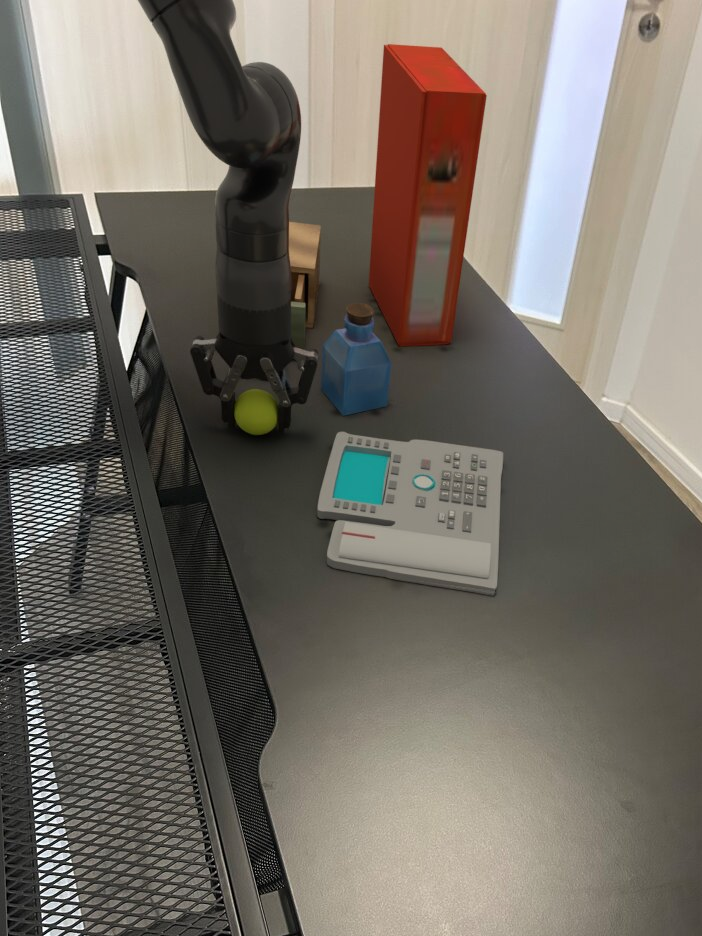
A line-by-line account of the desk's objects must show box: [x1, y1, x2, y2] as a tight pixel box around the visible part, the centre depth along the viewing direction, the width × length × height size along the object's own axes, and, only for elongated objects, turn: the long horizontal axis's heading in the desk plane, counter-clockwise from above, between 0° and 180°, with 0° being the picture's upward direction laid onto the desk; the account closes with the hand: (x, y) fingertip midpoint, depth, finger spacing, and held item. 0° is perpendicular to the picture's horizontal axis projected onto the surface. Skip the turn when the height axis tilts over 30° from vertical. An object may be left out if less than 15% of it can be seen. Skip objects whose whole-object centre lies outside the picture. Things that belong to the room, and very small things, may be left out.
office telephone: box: [316, 431, 504, 597], centre depth 94 cm, size 23×3×20 cm
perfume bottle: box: [320, 302, 392, 417], centre depth 104 cm, size 6×6×12 cm
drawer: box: [291, 272, 306, 350], centre depth 111 cm, size 18×10×7 cm, turn 3°
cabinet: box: [289, 221, 322, 329], centre depth 119 cm, size 14×12×9 cm
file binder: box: [368, 43, 488, 347], centre depth 113 cm, size 8×17×32 cm, turn 18°
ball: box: [234, 388, 279, 436], centre depth 98 cm, size 5×5×5 cm
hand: (257, 425), depth 100 cm, fingers closed on ball, 5 cm apart
